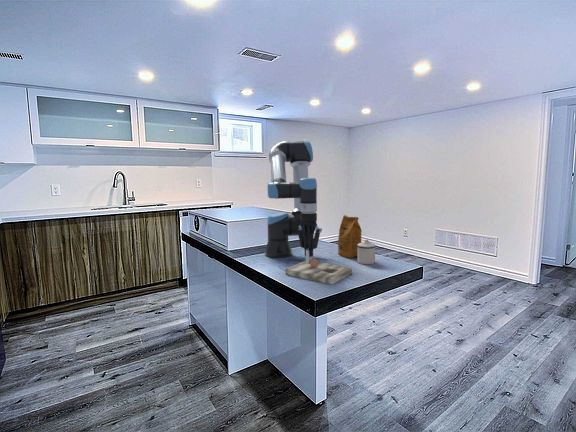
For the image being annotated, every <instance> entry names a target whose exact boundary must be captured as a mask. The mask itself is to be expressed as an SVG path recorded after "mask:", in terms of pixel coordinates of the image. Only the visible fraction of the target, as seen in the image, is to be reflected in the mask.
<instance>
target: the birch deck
mask: <svg viewBox="0 0 576 432" xmlns="http://www.w3.org/2000/svg"><path fill="white" fill-rule="evenodd" d="M318 262H319V265H318V267H316V268H313V267H311V265H310V264H306V260H304V261H302V262H299V263H297V264H295V265H292V266H288V267H287V268H285V275H287V276H288V275H289V276H291V277H292V276H293V277H297V278H301V279H305V280H310V281H314V282H318V283H324V284H328V285H335V284H336V283H338V282H339V281H341V280H343V279H344V278H346V277H348V276H349V275H351V274H353V273H352V271H353V269H352V268H353V267H349V266H343V265H337V264H332V263H326V262H321V261H318Z"/></svg>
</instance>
